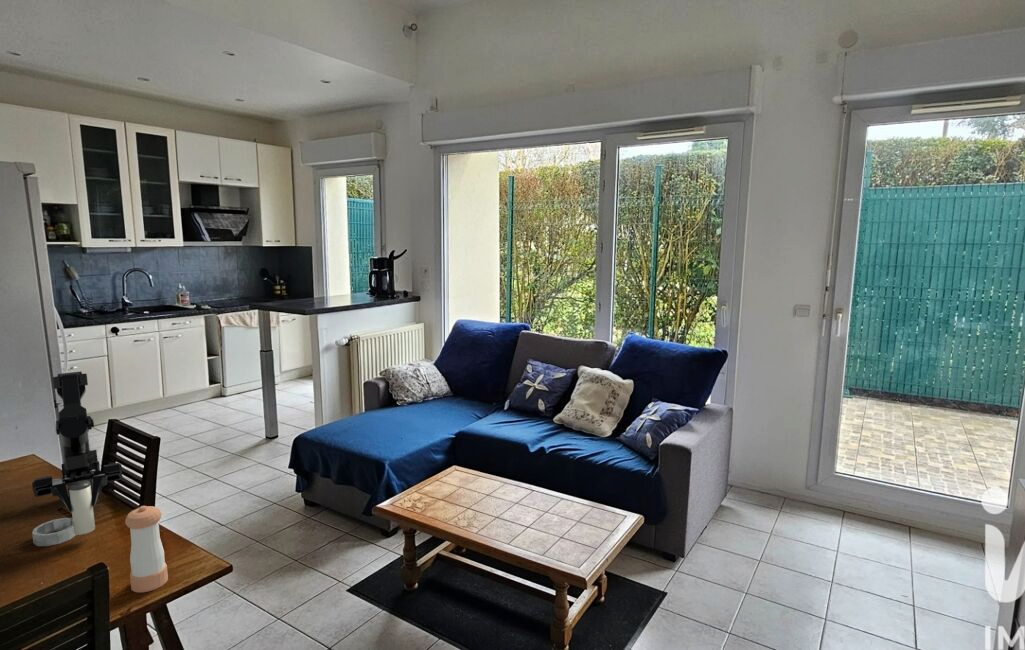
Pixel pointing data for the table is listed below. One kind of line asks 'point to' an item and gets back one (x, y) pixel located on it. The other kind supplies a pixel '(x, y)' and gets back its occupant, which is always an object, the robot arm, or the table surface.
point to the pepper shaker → (146, 550)
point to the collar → (43, 530)
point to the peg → (82, 507)
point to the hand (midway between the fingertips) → (82, 509)
